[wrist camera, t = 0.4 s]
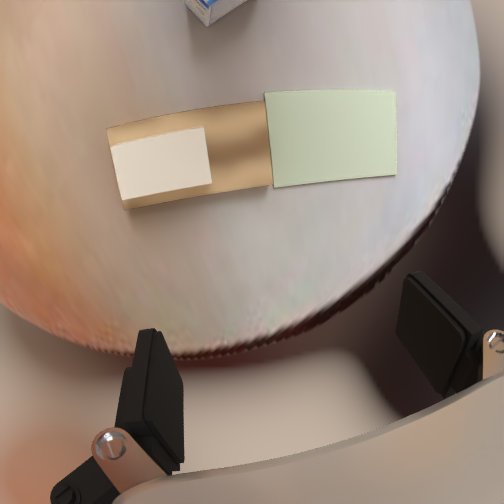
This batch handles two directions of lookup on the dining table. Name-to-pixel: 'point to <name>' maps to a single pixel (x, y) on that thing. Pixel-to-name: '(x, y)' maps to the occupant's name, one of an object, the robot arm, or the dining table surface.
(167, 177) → the cream rectangular block
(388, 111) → the mat
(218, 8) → the medicine box
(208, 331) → the dining table surface
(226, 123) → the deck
